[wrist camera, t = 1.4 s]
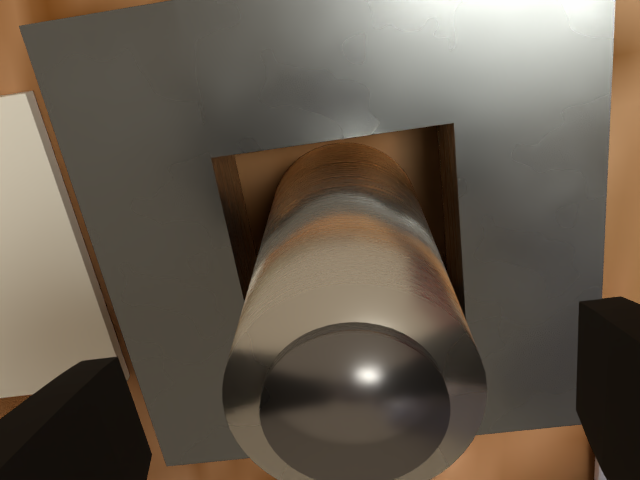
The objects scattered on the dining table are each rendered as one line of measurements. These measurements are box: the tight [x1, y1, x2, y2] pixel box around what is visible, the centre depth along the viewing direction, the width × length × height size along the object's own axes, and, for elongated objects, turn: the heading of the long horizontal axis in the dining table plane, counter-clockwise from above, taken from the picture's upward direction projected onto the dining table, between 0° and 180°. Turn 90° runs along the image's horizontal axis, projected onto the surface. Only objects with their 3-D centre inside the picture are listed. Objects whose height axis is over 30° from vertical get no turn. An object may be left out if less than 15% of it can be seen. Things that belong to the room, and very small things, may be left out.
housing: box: [19, 0, 615, 466], centre depth 15 cm, size 12×12×2 cm
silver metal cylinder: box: [222, 143, 487, 480], centre depth 12 cm, size 4×4×8 cm
